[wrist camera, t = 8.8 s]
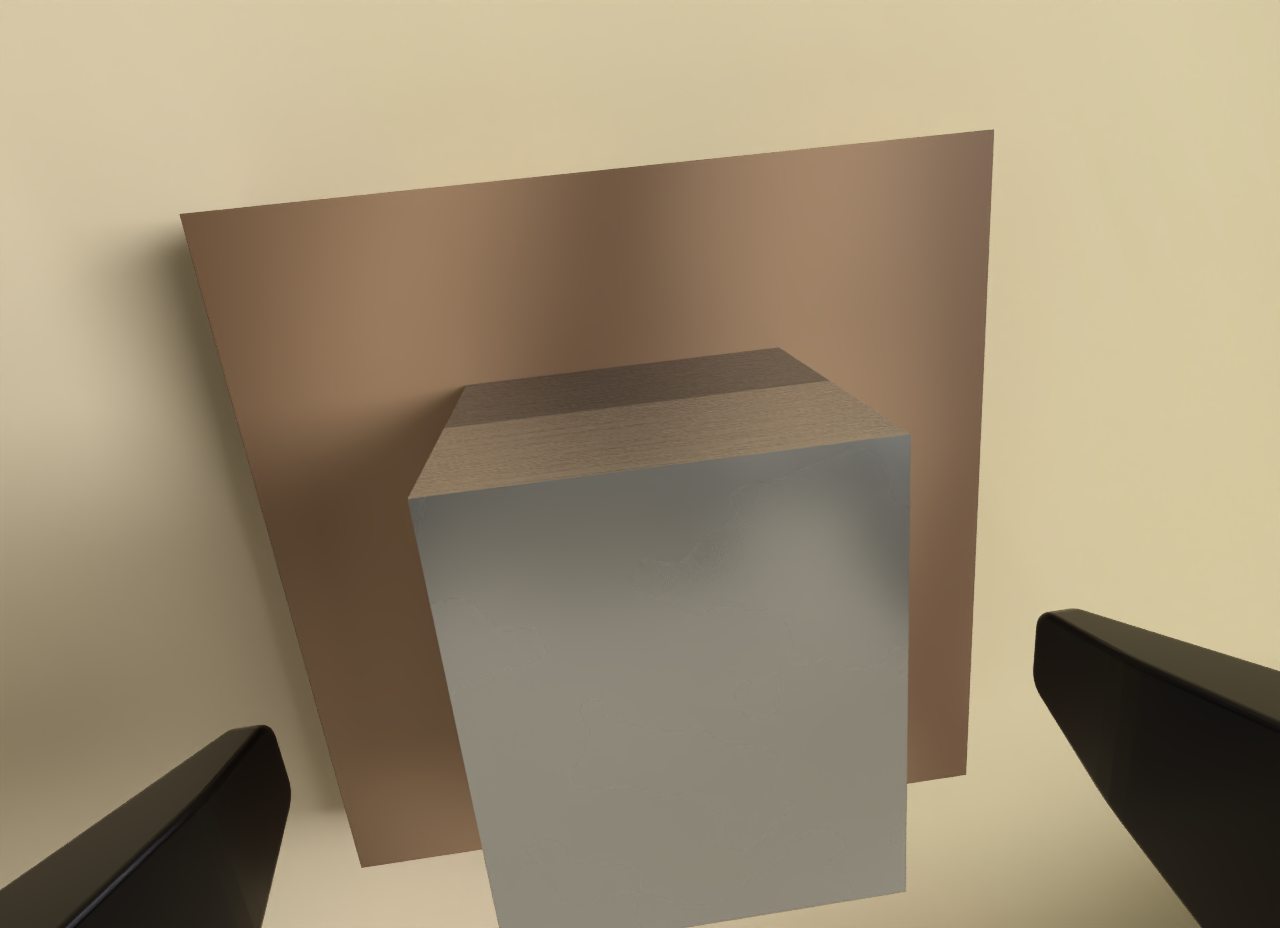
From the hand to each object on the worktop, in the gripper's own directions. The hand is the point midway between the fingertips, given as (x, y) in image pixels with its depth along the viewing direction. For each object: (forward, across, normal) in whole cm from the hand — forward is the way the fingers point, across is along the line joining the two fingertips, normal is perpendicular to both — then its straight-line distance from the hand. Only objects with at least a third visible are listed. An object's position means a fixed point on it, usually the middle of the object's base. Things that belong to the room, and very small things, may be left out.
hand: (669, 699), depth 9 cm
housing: (+4, 0, 0) cm, 5 cm away
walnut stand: (+6, 0, 0) cm, 7 cm away
